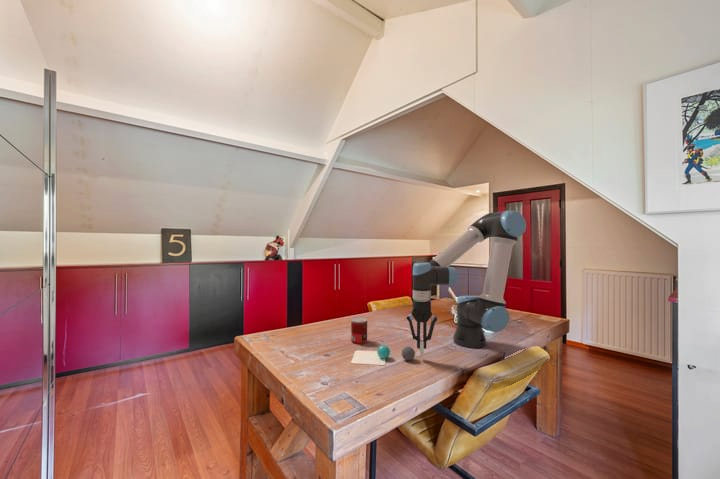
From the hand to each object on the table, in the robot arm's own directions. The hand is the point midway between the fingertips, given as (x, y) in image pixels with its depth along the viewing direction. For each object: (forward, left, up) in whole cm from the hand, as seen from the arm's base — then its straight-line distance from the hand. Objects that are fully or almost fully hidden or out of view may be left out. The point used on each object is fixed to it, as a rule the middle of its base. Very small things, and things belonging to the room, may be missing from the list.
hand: (421, 355), depth 124 cm
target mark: (+22, 0, -2) cm, 22 cm away
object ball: (+16, 0, +1) cm, 16 cm away
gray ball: (+6, 0, +1) cm, 6 cm away
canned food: (+29, -19, -2) cm, 35 cm away
